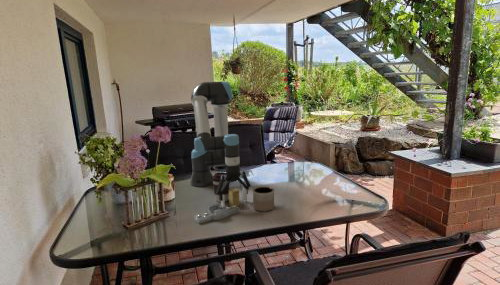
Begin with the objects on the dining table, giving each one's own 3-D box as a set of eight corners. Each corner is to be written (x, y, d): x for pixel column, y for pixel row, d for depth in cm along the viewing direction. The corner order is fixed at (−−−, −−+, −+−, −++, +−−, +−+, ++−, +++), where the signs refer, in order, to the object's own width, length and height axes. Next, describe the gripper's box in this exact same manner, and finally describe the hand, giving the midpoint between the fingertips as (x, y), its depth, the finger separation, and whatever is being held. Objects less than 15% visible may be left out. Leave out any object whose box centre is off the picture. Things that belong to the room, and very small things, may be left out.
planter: (259, 213, 156) (259, 195, 154) (249, 206, 165) (249, 188, 163) (278, 209, 161) (278, 190, 159) (267, 202, 170) (267, 185, 168)
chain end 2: (214, 213, 158) (213, 204, 157) (233, 208, 163) (232, 199, 163) (221, 218, 151) (221, 209, 150) (241, 213, 157) (240, 204, 156)
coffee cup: (233, 197, 179) (232, 171, 176) (226, 204, 169) (225, 177, 167) (217, 196, 182) (216, 170, 179) (210, 202, 173) (208, 175, 170)
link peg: (229, 204, 169) (228, 189, 168) (235, 202, 171) (235, 188, 170) (232, 206, 166) (232, 191, 164) (239, 204, 168) (238, 190, 166)
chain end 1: (193, 218, 152) (192, 210, 151) (214, 213, 158) (213, 204, 157) (200, 224, 145) (199, 215, 144) (221, 218, 151) (221, 209, 150)
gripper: (214, 169, 155) (216, 210, 159) (256, 161, 168) (257, 199, 172) (207, 166, 161) (209, 206, 165) (248, 159, 174) (250, 196, 178)
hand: (234, 203), depth 168 cm, fingers open, 13 cm apart
